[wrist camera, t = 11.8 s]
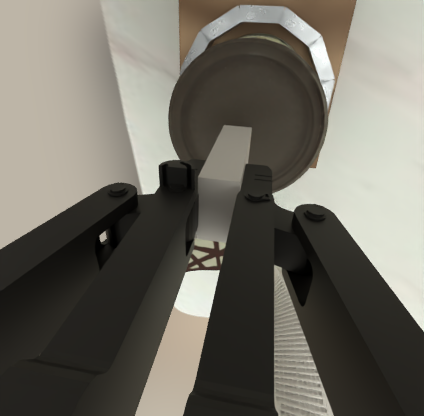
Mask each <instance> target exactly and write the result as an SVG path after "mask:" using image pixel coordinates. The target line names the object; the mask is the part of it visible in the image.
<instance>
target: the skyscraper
mask: <svg viewBox="0 0 424 416" xmlns="http://www.w3.org/2000/svg"><path fill="white" fill-rule="evenodd" d="M274 403H275V409H276V411H277V412H278V415H279V416H333V412H332V410H331V407H330V404H329V401H328V399H327V396H326V393H325V390H324V388H323V385H322V382H321V380H320V377H319V374H318V371H317V369H316V366H315V363H314V360H313V358H312V355H311V352H310V349H309V347H308V344H307V341H306V338H305V336H304V333H303V330H302V328H301V325H300V322H299V319H298V317H297V314H296V311H295V308H294V306H293V303H292V300H291V297H290V295H289V292H288V289H287V287H286V284H285V281H284V278H283V276H282V268H281V267H278V266H276V265H274Z"/></svg>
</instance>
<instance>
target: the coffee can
mask: <svg viewBox="0 0 424 416" xmlns="http://www.w3.org/2000/svg"><path fill="white" fill-rule="evenodd" d="M168 119H169V132H170V137H171V141H172V144H173V147H174V149H175V151H176V153H177V155H178V157H179V159H180V160H182V161H189V160H190V159H199V160H207V158H208V156H209V154H210V152H211V150H212V148H213V146H214V144H215V142H216V140H217V138H218V136H219V134H220V132H221V130H222V128H223V126H224V125H229V126H240V127H252V132H251V141H250V150H249V159H248V164H255V165H265V166H268V167H269V168H270V169H271V170H272V193H274V192H277V191H280V190H282V189H284V188H286V187H287V186H289V185H291V184H292V183H294V182H295V181H296V180H298V179H299V178H300V177H301V176H302V175H303V174H304V173H305V172H306V171H307V170H308V169H309V168H310V167H311V165H312V164H313V163H314V161H315V160H316V158H317V156H318V155H319V152H320V150H321V148H322V146H323V143H324V140H325V136H326V132H327V127H328V106H327V101H326V96H325V92H324V89H323V86H322V84H321V82H320V80H319V78H318V76H317V74H316V73H315V71H314V70H313V69H312V68H311V66H310V65H309V64H308V63H307V62H306V61H305V60H304V59H303V58H302V57H301V56H300V55H299V54H297V53H296V52H295V50H294V49H293V48H292V47H291V46H290V45H289V44H288V43H286V42H285V41H284V40H282V39H280V38H278V37H276V36H273V35H271V34H262V33H255V34H249V35H245V36H242V37H239V38H237V39H231V40H228V41H225V42H222V43H219V44H216V45H214V46H212V47H210V48H209V49H207V50H205V51H204V52H203V53H201V54H200V55H199V56H198V57H196V58H195V59H194V60H193V61H192V62H191V63H190V64H189V65H188V67H187V68H186V69H185V70H184V72H183V73H182V74H181V76H180V77H179V79H178V81H177V83H176V85H175V88H174V90H173V93H172V96H171V100H170V106H169V116H168Z"/></svg>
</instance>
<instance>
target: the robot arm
mask: <svg viewBox="0 0 424 416" xmlns="http://www.w3.org/2000/svg"><path fill="white" fill-rule="evenodd" d="M251 132H252V127H240V126H229V125H224V126H223V128H222V130H221V132H220V134H219V136H218V138H217V140H216V142H215V144H214V146H213V148H212V150H211V152H210V154H209V156H208V158H207V160H199V159H190V160H189V161H182V160H172V161H166V162H163V163H161V164H160V165H159V180H160V187H159V188H158V190H157V191H156V192H155V194H147V195H137V188H136V187H135V186H133V185H131V184H127V183H114V184H111V185H108V186H105V187H103V188H101V189H100V190H98V191H97V192H95V193H93V194H92V195H90V196H88V197H86V198H85V199H83V200H81V201H80V202H78V203H77V204H75V205H73V206H72V207H70V208H68V209H67V210H65V211H63V212H62V213H60V214H58V215H57V216H55V217H53V218H52V219H50V220H48V221H47V222H45V223H43V224H42V225H40V226H38V227H37V228H35V229H33V230H32V231H30V232H28V233H27V234H25V235H23V236H22V237H20V238H19V239H17V240H15V241H14V242H12V243H10V244H9V245H7V246H5V247H4V248H2V249H0V416H135V413H136V410H137V407H138V404H139V402H140V399H141V396H142V393H143V390H144V387H145V385H146V382H147V379H148V376H149V373H150V371H151V368H152V365H153V362H154V359H155V356H156V354H157V351H158V348H159V345H160V342H161V340H162V336H163V334H164V331H165V328H166V325H167V322H168V320H169V317H170V314H171V311H172V309H173V306H174V303H175V300H176V297H177V294H178V292H179V289H180V286H181V283H182V280H183V277H184V275H185V272H186V269H187V266H188V263H189V261H190V258H191V255H192V252H193V249H194V244H195V234H196V231H197V239H202V240H209V241H216V242H223V243H226V246H225V250H224V255H223V259H222V264H221V268H220V273H219V277H218V282H217V286H216V291H215V295H214V299H213V304H212V308H211V313H210V317H209V322H208V326H207V331H206V335H205V340H204V345H203V349H202V354H201V358H200V363H199V368H198V371H197V377H196V380H195V384H194V388H193V391H192V392H191V393H190V394H189V397H188V400H187V403H186V407H185V411H184V414H183V416H279V415H278V412H277V411H276V409H275V403H274V265H276V266H278V267H281V268H282V276H283V278H284V281H285V284H286V287H287V289H288V292H289V295H290V297H291V300H292V303H293V306H294V308H295V311H296V314H297V317H298V319H299V322H300V325H301V328H302V330H303V333H304V336H305V338H306V341H307V344H308V347H309V349H310V352H311V355H312V358H313V360H314V363H315V366H316V369H317V371H318V374H319V377H320V380H321V382H322V385H323V388H324V390H325V393H326V396H327V399H328V401H329V404H330V407H331V410H332V412H333V415H334V416H424V332H423V330H422V329H421V328H420V326H419V325H418V324H417V323H416V321H415V320H414V319H413V317H412V316H411V315H410V313H409V312H408V311H407V309H406V308H405V307H404V305H403V304H402V303H401V301H400V300H399V299H398V297H397V296H396V295H395V293H394V292H393V291H392V289H391V288H390V287H389V286H388V284H387V283H386V282H385V280H384V279H383V278H382V276H381V275H380V274H379V272H378V271H377V270H376V268H375V267H374V266H373V264H372V263H371V262H370V260H369V259H368V258H367V256H366V255H365V254H364V252H363V251H362V250H361V248H360V247H359V246H358V245H357V243H356V242H355V241H354V239H353V238H352V237H351V235H350V234H349V233H348V231H347V230H346V229H345V227H344V226H343V225H342V223H341V222H340V221H339V219H338V218H337V217H336V215H335V214H334V213H333V212H331V211H330V210H329V209H327V208H325V207H323V206H320V205H316V204H303V205H300V206H298V207H296V209H295V210H294V212H291V211H288V210H286V209H283V208H281V207H279V206H278V205H276V204H275V203H274V198H273V195H272V170H271V169H270V168H269V167H268V166H265V165H255V164H248V159H249V150H250V141H251ZM104 231H106V236H107V239H106V240H105V241H103V242H100V238H99V236H100V235H101V234H102V233H103V232H104Z"/></svg>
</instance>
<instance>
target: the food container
mask: <svg viewBox="0 0 424 416" xmlns="http://www.w3.org/2000/svg"><path fill="white" fill-rule="evenodd" d="M225 246H226V243H223V242H216V241H209V240H202V239H197V231H196V234H195V244H194V249H193V252H192V255H191V258H190V261H189V263H188V266H187V269H186V272H188V271H196V270H220V268H221V264H222V259H223V255H224V250H225Z"/></svg>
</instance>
